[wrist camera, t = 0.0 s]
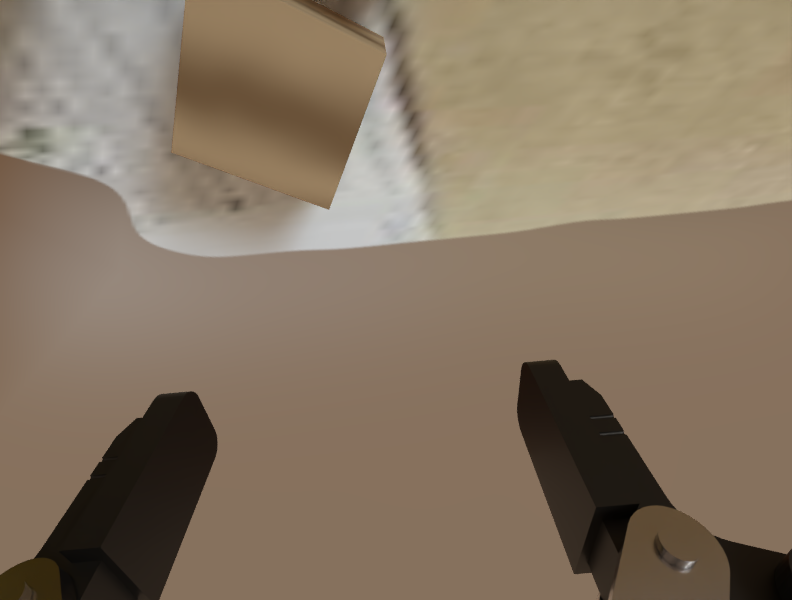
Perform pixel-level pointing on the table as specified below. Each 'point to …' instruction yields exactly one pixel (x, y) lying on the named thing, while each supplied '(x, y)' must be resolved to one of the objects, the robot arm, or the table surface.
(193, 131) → the oak box
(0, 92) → the table surface
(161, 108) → the table surface
